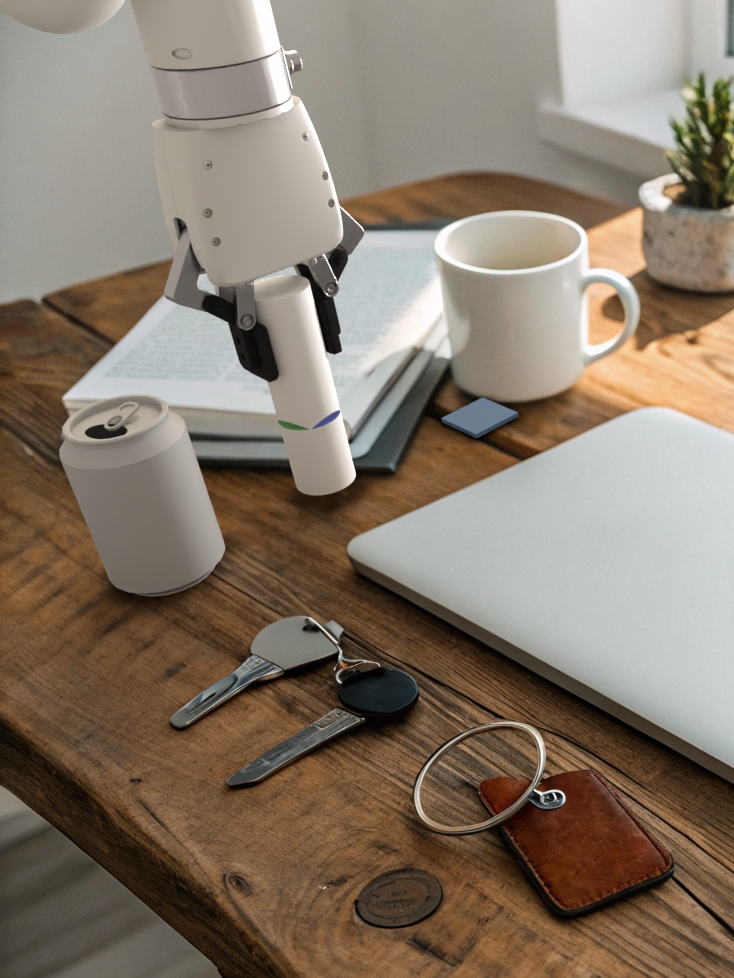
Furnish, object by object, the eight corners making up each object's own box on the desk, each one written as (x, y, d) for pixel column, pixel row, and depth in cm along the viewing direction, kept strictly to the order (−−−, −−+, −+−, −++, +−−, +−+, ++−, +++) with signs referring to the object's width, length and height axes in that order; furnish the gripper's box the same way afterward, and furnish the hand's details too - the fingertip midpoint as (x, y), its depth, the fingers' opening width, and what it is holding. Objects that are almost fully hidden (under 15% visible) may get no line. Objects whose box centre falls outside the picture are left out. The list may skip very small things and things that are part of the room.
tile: (476, 438, 92) (476, 434, 92) (441, 422, 94) (440, 418, 94) (518, 416, 95) (518, 412, 94) (483, 401, 97) (482, 397, 97)
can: (87, 593, 77) (21, 436, 71) (165, 531, 83) (110, 380, 77) (178, 613, 75) (118, 452, 68) (251, 547, 81) (203, 393, 74)
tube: (295, 470, 87) (243, 280, 79) (354, 459, 88) (308, 271, 80) (296, 500, 84) (241, 304, 75) (357, 488, 84) (310, 294, 76)
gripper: (308, 52, 78) (364, 307, 88) (58, 112, 67) (154, 393, 78) (376, 65, 73) (426, 332, 83) (119, 131, 63) (212, 427, 73)
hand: (294, 359), depth 80 cm, fingers closed on tube, 4 cm apart
